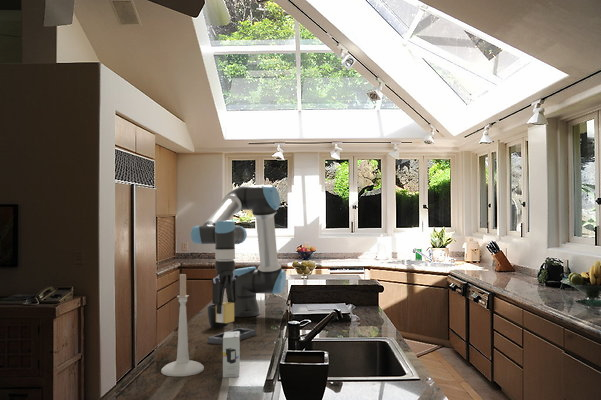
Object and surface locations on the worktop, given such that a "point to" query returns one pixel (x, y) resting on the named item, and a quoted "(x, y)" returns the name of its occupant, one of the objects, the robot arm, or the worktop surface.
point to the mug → (213, 318)
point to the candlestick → (182, 342)
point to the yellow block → (228, 312)
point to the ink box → (231, 354)
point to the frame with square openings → (243, 332)
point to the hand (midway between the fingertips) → (225, 320)
